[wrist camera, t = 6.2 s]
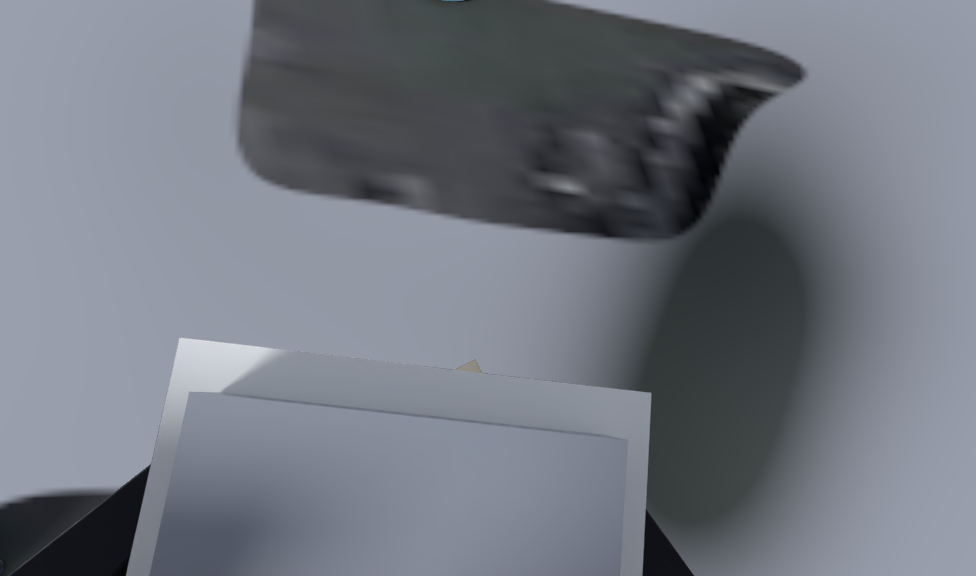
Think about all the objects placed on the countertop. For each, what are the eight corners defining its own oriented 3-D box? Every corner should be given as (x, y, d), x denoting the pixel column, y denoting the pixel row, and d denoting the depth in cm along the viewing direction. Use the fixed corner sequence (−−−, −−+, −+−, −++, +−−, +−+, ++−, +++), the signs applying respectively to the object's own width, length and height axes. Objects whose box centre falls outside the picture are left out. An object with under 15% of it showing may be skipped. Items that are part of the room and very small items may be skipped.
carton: (503, 608, 15) (655, 1038, 5) (289, 590, 14) (-23, 1023, 4) (523, 395, 16) (680, 392, 6) (326, 373, 15) (143, 328, 5)
